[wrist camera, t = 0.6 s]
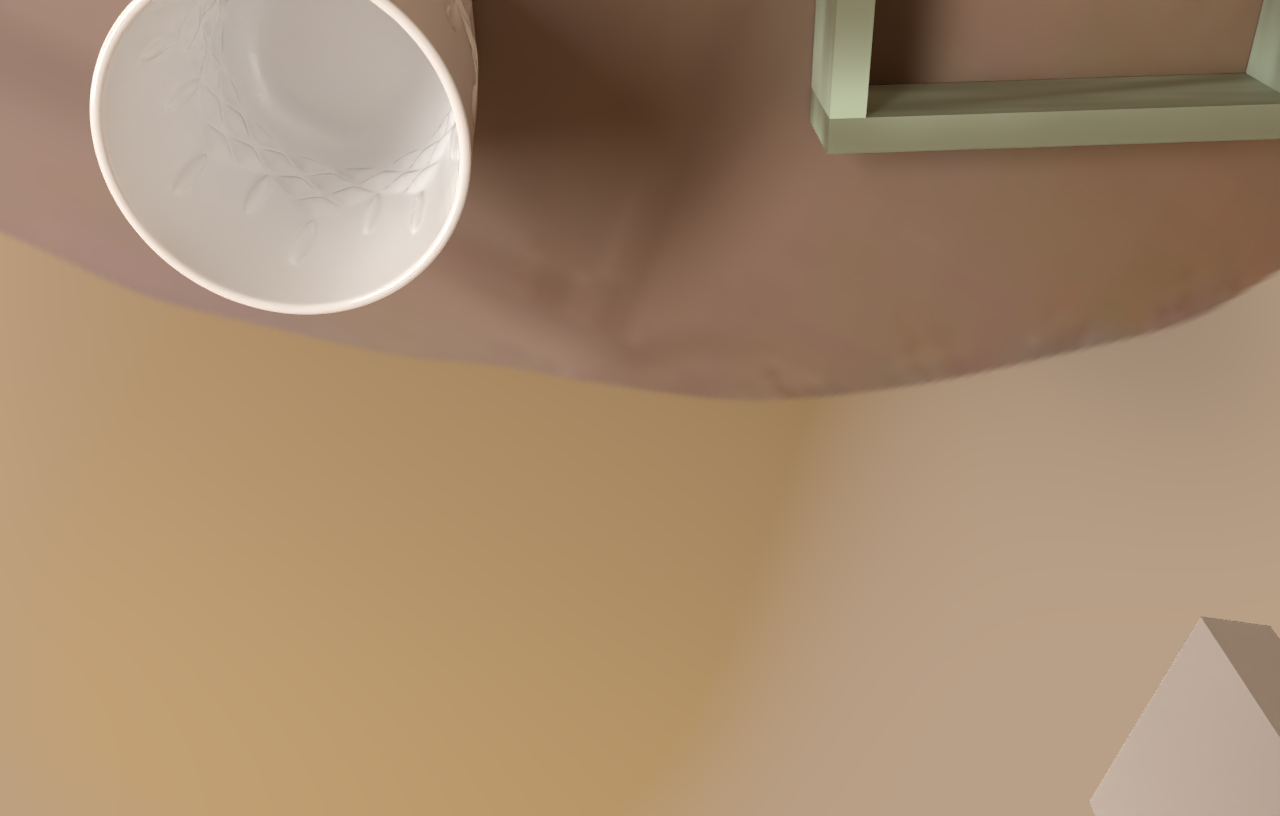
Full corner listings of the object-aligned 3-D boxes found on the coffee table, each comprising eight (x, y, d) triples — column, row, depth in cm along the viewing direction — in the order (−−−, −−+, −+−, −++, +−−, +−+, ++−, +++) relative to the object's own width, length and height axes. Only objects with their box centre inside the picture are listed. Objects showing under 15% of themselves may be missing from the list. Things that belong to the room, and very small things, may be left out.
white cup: (155, -30, 32) (5, 71, 24) (398, -177, 31) (329, -125, 22) (324, 208, 36) (245, 369, 28) (548, 88, 35) (538, 219, 26)
